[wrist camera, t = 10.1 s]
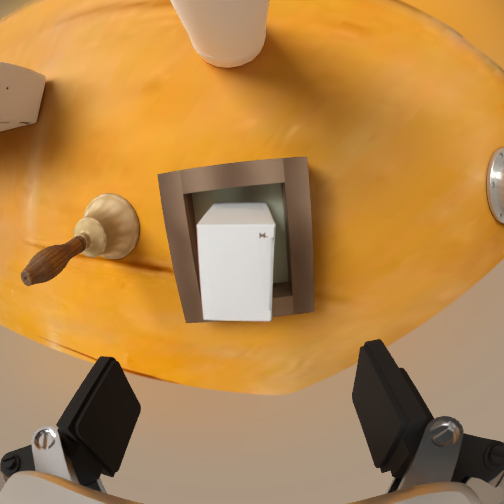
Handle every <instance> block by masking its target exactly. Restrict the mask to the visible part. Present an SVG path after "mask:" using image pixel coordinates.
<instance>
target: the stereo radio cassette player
mask: <svg viewBox="0 0 504 504" xmlns="http://www.w3.org/2000/svg"><path fill="white" fill-rule="evenodd" d="M45 82H46V77H45V76H44V75H42V74H40V73H37V72H35V71H33V70H30V69H27V68H23V67H20V66H17V65H13V64H8V63H3V62H0V132H1V131H5V130H9V129H13V128H16V127H21V126H25V125H29V124H34V123H36V122H37V118H38V113H39V109H40V104H41V100H42V95H43V91H44V87H45Z"/></svg>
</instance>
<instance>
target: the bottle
mask: <svg viewBox="0 0 504 504" xmlns="http://www.w3.org/2000/svg"><path fill="white" fill-rule="evenodd" d="M170 1H171V3H172V5H173V7H174V8H175V10H176V12H177V14H178V16H179V18H180V20H181V22H182V23H183V25H184V27H185V29H186V31H187V33H188V35H189V37H190V39H191V42H192V44H193V47H194V49H195V51H196V52H197V53H198V55H199V56H200V57H201V58H202V59H203V60H204V61H205V62H207V63H209V64H211V65H214V66H216V67H225V68H231V67H237V66H242V65H244V64H246V63H248V62H250V61H252V60H253V59H254V58H255V57H256V56H257V55H258V54H259V53H260V52H261V50H262V47H263V45H264V41H265V39H266V22H267V14H268V5H269V0H170Z"/></svg>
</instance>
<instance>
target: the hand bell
mask: <svg viewBox="0 0 504 504" xmlns="http://www.w3.org/2000/svg"><path fill="white" fill-rule="evenodd" d="M138 237H139V222H138V217H137V215H136V212H135V210H134V209H133V207H132V206H131V205H130V203H129V202H128V201H127V200H126V199H124V198H123V197H121V196H119V195H116V194H111V193H106V194H102V195H99V196H97V197H96V198H94V199H93V200H92V201H91V202H90V203H89V205H88V206H87V208H86V211H85V213H84V217H83V219H81V220H80V221H79V222H78V223H77V225H76V227H75V230H74V238H73V239H71V240H70V241H68V242H67V243H65V244H63V245H54V246H50V247H47V248H45V249H43V250H41V251H39V252H38V253H37V254H36V255H35V256H34V257H33V258H32V259H31V260H30V262H29V264H28V265H27V266H26V268H25V269H24V270H23V271H22V273H21V279H22V281H23V283H24V284H25V285H27V286H30V285H33V284H38V283H43V282H47V281H49V280H51V279H52V278H54V277H55V276H57V275H58V274H59V273H60V272H61V271H62V270H63V269H64V268H65V266H66V265H67V263H68V261H69V260H70V259H71V258H72V257H74V256H76V255H77V254H79V253H82V254H84V255H85V256H88V257H97V256H102V257H104V258H108V259H120V258H123V257H125V256H127V255H128V254H129V253H130V252H131V251H132V250H133V249H134V247H135V246H136V244H137V241H138Z"/></svg>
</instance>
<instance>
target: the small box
mask: <svg viewBox="0 0 504 504" xmlns="http://www.w3.org/2000/svg"><path fill="white" fill-rule="evenodd" d="M196 228H197V247H198V263H199V277H200V290H201V302H202V312H203V319H204V320H222V321H271V320H272V289H273V263H274V243H275V230H276V224H275V222H274V220H273V217H272V214H271V212H270V210H269V207H268V205H267V203H266V202H215V203H214V204H213V205H212V206H211V208H210V209H209V210H208V211H207V213H206V214H205V215H204V216H203V217H202V219H201V220H200V221H199V222H198V224H197V225H196Z"/></svg>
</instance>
